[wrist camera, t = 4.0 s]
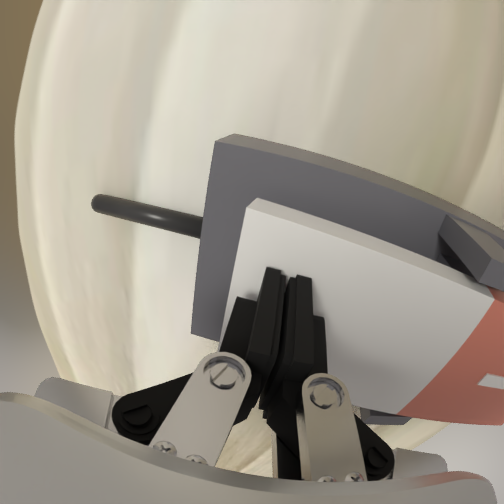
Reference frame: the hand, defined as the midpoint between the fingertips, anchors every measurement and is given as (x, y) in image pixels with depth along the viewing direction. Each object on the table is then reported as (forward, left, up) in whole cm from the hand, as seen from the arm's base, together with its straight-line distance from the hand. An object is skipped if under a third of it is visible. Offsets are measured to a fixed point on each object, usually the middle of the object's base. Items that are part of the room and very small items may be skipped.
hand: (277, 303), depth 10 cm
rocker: (+1, +8, +1) cm, 8 cm away
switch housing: (+1, +4, -6) cm, 7 cm away
